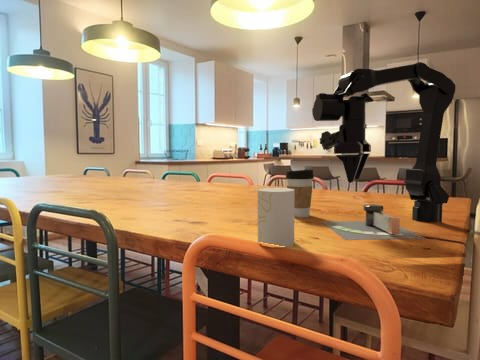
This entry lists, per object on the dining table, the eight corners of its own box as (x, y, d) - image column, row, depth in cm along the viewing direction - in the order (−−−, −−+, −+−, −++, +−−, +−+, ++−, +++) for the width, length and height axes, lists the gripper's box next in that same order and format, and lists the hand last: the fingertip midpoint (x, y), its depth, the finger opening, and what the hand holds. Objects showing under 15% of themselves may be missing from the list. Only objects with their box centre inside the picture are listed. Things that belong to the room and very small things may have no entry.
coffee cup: (313, 221, 100) (314, 170, 99) (284, 220, 102) (284, 170, 101) (313, 216, 108) (313, 168, 107) (286, 215, 110) (286, 168, 109)
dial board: (385, 224, 96) (385, 219, 96) (426, 242, 76) (426, 237, 76) (321, 225, 95) (321, 220, 95) (345, 244, 75) (345, 238, 75)
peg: (360, 223, 92) (360, 204, 91) (378, 223, 92) (378, 204, 92) (384, 236, 77) (385, 214, 77) (405, 236, 77) (406, 213, 77)
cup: (255, 239, 80) (255, 188, 80) (289, 238, 81) (289, 187, 80) (260, 248, 72) (260, 192, 71) (298, 247, 73) (298, 191, 72)
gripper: (330, 124, 101) (331, 177, 102) (312, 120, 84) (313, 183, 86) (371, 122, 95) (371, 178, 97) (360, 117, 79) (360, 184, 80)
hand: (353, 180), depth 90 cm, fingers open, 9 cm apart
